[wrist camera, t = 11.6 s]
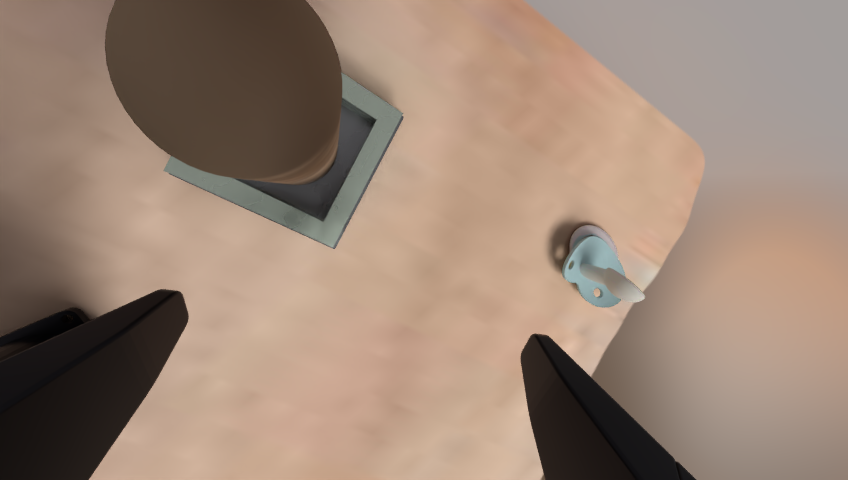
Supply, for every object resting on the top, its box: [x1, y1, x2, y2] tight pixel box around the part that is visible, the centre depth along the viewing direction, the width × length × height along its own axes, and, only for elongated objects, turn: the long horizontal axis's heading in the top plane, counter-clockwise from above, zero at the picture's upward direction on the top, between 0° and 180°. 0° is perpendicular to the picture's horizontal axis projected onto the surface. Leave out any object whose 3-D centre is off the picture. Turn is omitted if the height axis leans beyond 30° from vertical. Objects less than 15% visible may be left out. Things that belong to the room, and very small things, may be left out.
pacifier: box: [562, 225, 645, 307], centre depth 25 cm, size 7×6×6 cm
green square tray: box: [164, 72, 404, 249], centre depth 18 cm, size 10×10×2 cm
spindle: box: [105, 0, 342, 185], centre depth 13 cm, size 5×5×12 cm
